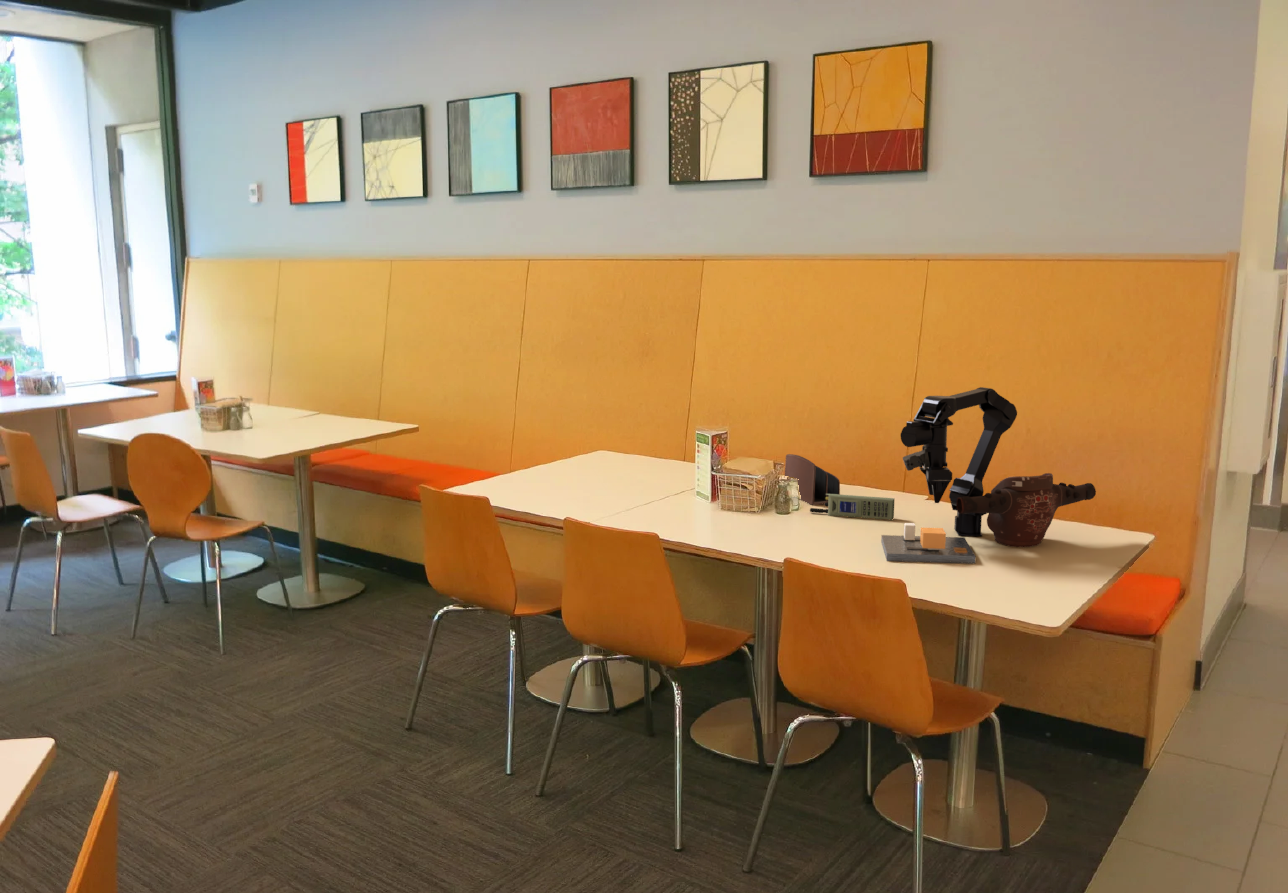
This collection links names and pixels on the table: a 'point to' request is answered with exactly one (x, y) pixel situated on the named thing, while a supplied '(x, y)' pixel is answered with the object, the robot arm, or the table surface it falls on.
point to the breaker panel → (914, 552)
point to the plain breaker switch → (909, 531)
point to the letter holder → (811, 480)
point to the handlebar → (1024, 507)
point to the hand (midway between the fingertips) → (934, 498)
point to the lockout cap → (933, 538)
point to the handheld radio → (858, 506)
